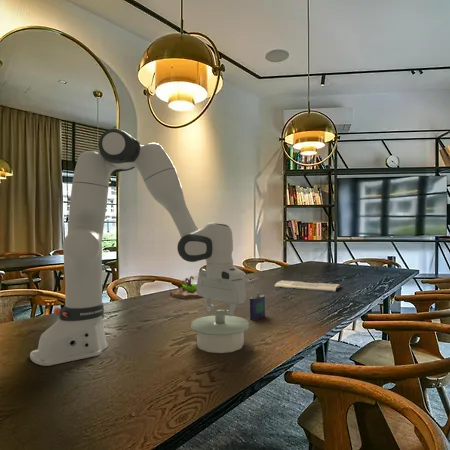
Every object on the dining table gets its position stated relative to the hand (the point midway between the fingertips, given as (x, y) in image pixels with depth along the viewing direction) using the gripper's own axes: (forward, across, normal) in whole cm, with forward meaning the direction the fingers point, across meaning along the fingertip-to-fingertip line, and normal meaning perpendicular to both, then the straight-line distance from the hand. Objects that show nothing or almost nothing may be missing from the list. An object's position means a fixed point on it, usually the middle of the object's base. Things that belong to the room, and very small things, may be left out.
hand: (219, 313), depth 117 cm
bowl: (+10, 0, 0) cm, 10 cm away
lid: (+4, 0, 0) cm, 4 cm away
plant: (+11, -70, +45) cm, 84 cm away
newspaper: (+11, -35, +110) cm, 116 cm away
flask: (+11, -12, +34) cm, 38 cm away
